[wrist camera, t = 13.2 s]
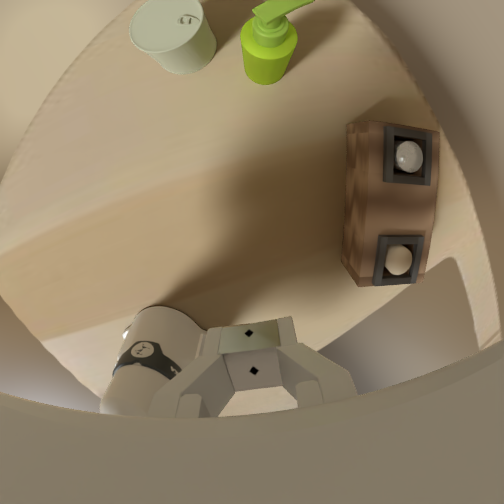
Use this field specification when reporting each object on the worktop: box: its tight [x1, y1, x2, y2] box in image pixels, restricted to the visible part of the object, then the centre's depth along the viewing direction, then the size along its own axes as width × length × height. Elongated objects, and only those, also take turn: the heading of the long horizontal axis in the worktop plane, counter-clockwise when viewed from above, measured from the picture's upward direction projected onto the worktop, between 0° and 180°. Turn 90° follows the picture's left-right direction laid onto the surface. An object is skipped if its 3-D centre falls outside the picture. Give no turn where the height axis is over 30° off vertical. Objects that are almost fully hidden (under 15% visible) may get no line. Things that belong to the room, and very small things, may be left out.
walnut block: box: [341, 121, 439, 287], centre depth 37 cm, size 22×11×10 cm, turn 2°
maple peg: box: [384, 244, 412, 275], centre depth 39 cm, size 4×4×8 cm
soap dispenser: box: [240, 0, 315, 85], centre depth 25 cm, size 6×7×20 cm
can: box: [129, 0, 217, 74], centre depth 28 cm, size 9×9×12 cm
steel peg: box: [393, 141, 423, 172], centre depth 34 cm, size 4×4×8 cm
